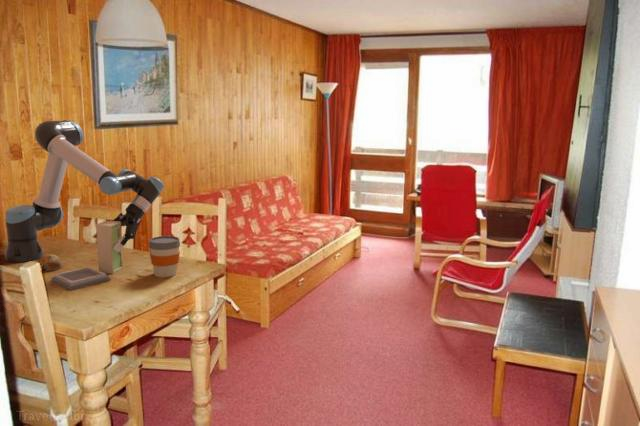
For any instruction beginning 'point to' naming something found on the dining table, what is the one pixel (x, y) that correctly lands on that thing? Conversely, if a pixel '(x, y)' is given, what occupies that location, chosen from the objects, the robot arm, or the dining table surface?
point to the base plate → (79, 278)
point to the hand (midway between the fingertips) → (107, 247)
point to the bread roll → (50, 262)
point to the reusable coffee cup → (164, 255)
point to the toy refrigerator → (109, 246)
